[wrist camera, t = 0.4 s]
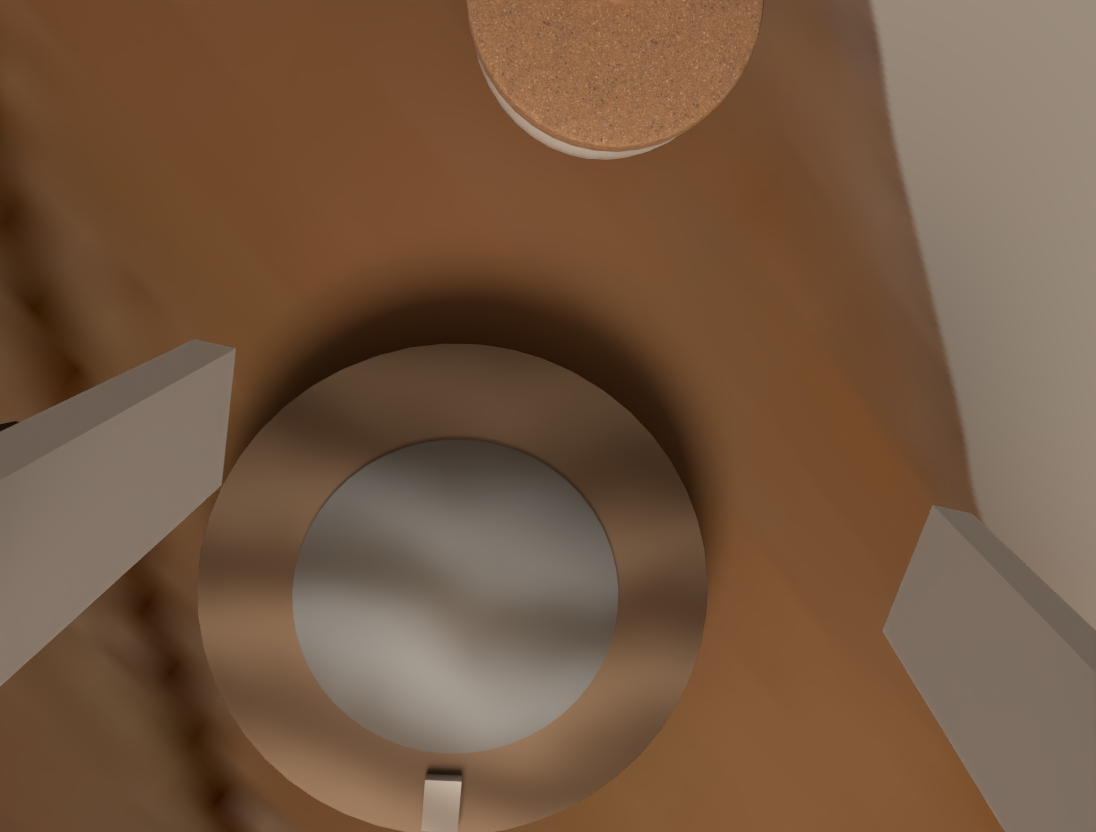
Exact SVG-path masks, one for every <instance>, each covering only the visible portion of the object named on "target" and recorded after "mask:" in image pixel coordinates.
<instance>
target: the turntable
mask: <svg viewBox="0 0 1096 832" xmlns="http://www.w3.org/2000/svg"><path fill="white" fill-rule="evenodd" d="M197 587H198V617H199V623H200V629H201V635H202V640H203V646H204V650H205V653H206V657H207V660H208V663H209V666H210V669H211V672H212V676H213V679H214V681H215V683H216V685H217V687H218V689H219V691H220V694H221V696H222V698H223V700H224V702H225V704H226V706H227V708H228V710H229V711H230V713H231V714H232V716H233V718H234V719H235V721H236V722H237V724H238V725H239V727H240V728H241V730H242V731H243V733H244V734H245V736H246V737H247V738H248V739H249V740H250V742H251V743H252V744H253V745H254V746H255V747H256V749H257V750H258V751H259V752H260V753H261V754H262V756H263V757H264V758H265V759H266V760H267V761H268V762H269V763H270V764H271V765H273V766H274V767H275V768H276V769H277V770H278V771H279V772H280V773H281V774H283V775H284V776H285V777H286V778H287V779H288V780H289V781H291V782H292V783H293V784H295V785H296V786H298V787H299V788H301V789H302V790H304V791H305V792H307V793H308V794H310V795H311V796H312V797H314V798H315V799H317V800H319V801H321V802H323V803H325V804H327V805H329V806H331V807H332V808H334V809H336V810H338V811H340V812H342V813H344V814H346V815H349V816H352V817H355V818H357V819H360V820H363V821H366V822H368V823H371V824H374V825H377V826H382V827H386V828H391V829H395V830H399V831H404V832H495V831H502V830H506V829H510V828H514V827H517V826H521V825H525V824H529V823H532V822H535V821H538V820H540V819H543V818H545V817H548V816H550V815H553V814H555V813H558V812H560V811H563V810H565V809H567V808H568V807H570V806H572V805H574V804H576V803H577V802H579V801H581V800H583V799H585V798H586V797H588V796H590V795H592V794H593V793H595V792H596V791H597V790H599V789H600V788H601V787H603V786H604V785H606V784H607V783H608V782H610V781H611V780H612V779H614V778H615V777H617V776H618V775H619V774H620V773H621V772H622V771H623V770H624V769H625V768H626V767H627V766H628V765H630V764H631V763H632V762H633V761H634V760H635V759H636V758H637V757H638V756H639V755H640V754H641V753H642V752H643V751H644V749H645V748H646V747H647V746H648V745H649V743H650V742H651V741H652V740H653V739H654V737H655V736H656V735H657V734H658V733H659V731H660V730H661V729H662V727H663V726H664V724H665V722H666V721H667V719H668V718H669V716H670V715H671V713H672V711H673V710H674V708H675V707H676V705H677V704H678V701H679V699H680V697H681V695H682V693H683V691H684V689H685V687H686V684H687V682H688V680H689V678H690V676H691V673H692V670H693V667H694V664H695V661H696V658H697V654H698V651H699V648H700V645H701V640H702V634H703V628H704V623H705V617H706V605H707V571H706V560H705V550H704V546H703V541H702V537H701V532H700V528H699V524H698V520H697V517H696V514H695V511H694V509H693V506H692V503H691V501H690V498H689V495H688V493H687V490H686V488H685V486H684V484H683V483H682V481H681V479H680V477H679V475H678V473H677V471H676V469H675V468H674V466H673V464H672V462H671V461H670V459H669V458H668V456H667V455H666V454H665V452H664V451H663V450H662V448H661V447H660V445H659V444H658V443H657V441H656V440H655V438H654V437H653V436H652V435H651V434H650V432H649V431H648V430H647V429H646V428H645V427H644V426H643V425H642V424H641V423H640V422H639V421H638V420H637V419H636V418H635V417H634V416H633V415H632V414H631V412H630V411H628V410H627V409H626V408H625V407H623V406H622V405H621V404H620V403H618V402H617V401H616V400H615V399H613V398H612V397H611V396H610V395H608V394H607V393H606V392H605V391H603V390H602V389H600V388H599V387H597V386H595V385H594V384H592V383H590V382H589V381H587V380H586V379H584V378H582V377H581V376H579V375H577V374H576V373H574V372H572V371H570V370H568V369H566V368H563V367H561V366H559V365H557V364H554V363H552V362H550V361H547V360H545V359H543V358H540V357H536V356H533V355H529V354H526V353H523V352H519V351H516V350H512V349H507V348H500V347H494V346H487V345H481V344H448V343H444V344H435V345H426V346H417V347H410V348H406V349H402V350H398V351H394V352H390V353H386V354H382V355H378V356H375V357H373V358H370V359H367V360H365V361H362V362H360V363H357V364H355V365H352V366H350V367H347V368H344V369H342V370H340V371H338V372H337V373H335V374H333V375H331V376H329V377H328V378H326V379H324V380H322V381H320V382H319V383H317V384H315V385H313V386H311V387H310V388H309V389H307V390H306V391H305V392H303V393H302V394H301V395H299V396H298V397H297V398H295V399H294V400H293V401H291V402H290V403H289V404H287V405H286V406H285V407H283V408H282V409H281V410H280V411H279V412H278V413H277V414H276V415H275V416H274V417H273V418H272V419H271V420H270V421H269V422H268V423H267V424H266V425H265V426H264V427H263V428H262V429H261V430H260V431H259V432H258V434H257V435H256V436H255V437H254V439H253V440H252V441H251V442H250V444H249V445H248V446H247V448H246V449H245V450H244V451H243V453H242V454H241V455H240V457H239V458H238V460H237V461H236V463H235V465H234V467H233V468H232V470H231V472H230V474H229V475H228V477H227V479H226V480H225V482H224V484H223V486H222V488H221V490H220V493H219V495H218V497H217V500H216V502H215V505H214V507H213V510H212V512H211V515H210V517H209V521H208V524H207V528H206V532H205V536H204V540H203V544H202V548H201V555H200V564H199V572H198V581H197Z"/></svg>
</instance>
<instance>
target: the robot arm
mask: <svg viewBox="0 0 1096 832" xmlns="http://www.w3.org/2000/svg"><path fill="white" fill-rule="evenodd" d="M235 351H236V349H235V348H231V347H227V346H222V345H218V344H213V343H209V342H204V341H200V340H195V339H194V340H192V341H190V342H188V343H185V344H183V345H181V346H179V347H177V348H175V349H173V350H171V351H169V352H167V353H164V354H162V355H160V356H158V357H156V358H154V359H152V360H150V361H148V362H146V363H143V364H141V365H139V366H137V367H135V368H133V369H131V370H129V371H127V372H125V373H122V374H120V375H118V376H116V377H114V378H112V379H110V380H108V381H106V382H104V383H101V384H99V385H97V386H95V387H93V388H91V389H89V390H87V391H85V392H83V393H80V394H78V395H76V396H74V397H72V398H70V399H68V400H66V401H64V402H62V403H59V404H57V405H55V406H53V407H51V408H49V409H47V410H45V411H43V412H41V413H38V414H36V415H34V416H32V417H30V418H28V419H26V420H24V421H22V422H17V421H14V422H9V423H4V424H0V686H1V685H2V684H3V683H4V682H6V681H7V680H8V679H9V678H10V677H11V676H12V675H13V674H14V673H15V672H17V671H18V670H19V669H20V668H21V667H22V666H23V665H24V664H25V663H26V662H28V661H29V660H30V659H31V658H32V657H33V656H34V655H35V654H36V653H37V652H39V651H40V650H41V649H42V648H43V647H44V646H45V645H46V644H47V643H49V642H50V641H51V640H52V639H53V638H54V637H55V636H56V635H57V634H58V633H60V632H61V631H62V630H63V629H64V628H65V627H66V626H67V625H68V624H69V623H71V622H72V621H73V620H74V619H75V618H76V617H77V616H78V615H79V614H80V613H82V612H83V611H84V610H85V609H86V608H87V607H88V606H89V605H90V604H91V603H93V602H94V601H95V600H96V599H97V598H98V597H99V596H100V595H101V594H102V593H104V592H105V591H106V590H107V589H108V588H109V587H110V586H111V585H112V584H113V583H115V582H116V581H117V580H118V579H119V578H120V577H121V576H122V575H123V574H124V573H126V572H127V571H128V570H129V569H130V568H131V567H132V566H133V565H134V564H135V563H137V562H138V561H139V560H140V559H141V558H142V557H143V556H144V555H145V554H146V553H148V552H149V551H150V550H151V549H152V548H153V547H154V546H155V545H156V544H157V543H159V542H160V541H161V540H162V539H163V538H164V537H165V536H166V535H167V534H168V533H170V532H171V531H172V530H173V529H174V528H175V527H176V526H177V525H178V524H179V523H181V522H182V521H183V520H184V519H185V518H186V517H187V516H188V515H189V514H190V513H192V512H193V511H194V510H195V509H196V508H197V507H198V506H199V505H200V504H201V503H203V502H204V501H205V500H206V499H207V498H208V497H209V496H210V495H211V494H212V493H214V492H215V491H216V490H217V489H218V488H219V487H220V486H221V485H222V476H223V467H224V457H225V447H226V438H227V428H228V419H229V409H230V399H231V390H232V380H233V371H234V361H235ZM882 632H883V633H884V635H885V637H886V638H887V640H888V641H889V643H890V645H891V646H892V648H893V650H894V651H895V653H896V655H897V656H898V658H899V659H900V661H901V663H902V664H903V666H904V668H905V669H906V671H907V673H908V674H909V676H910V677H911V679H912V681H913V682H914V684H915V686H916V687H917V689H918V691H919V692H920V694H921V695H922V697H923V699H924V700H925V702H926V704H927V705H928V707H929V709H930V710H931V712H932V713H933V715H934V717H935V718H936V720H937V722H938V723H939V725H940V727H941V728H942V730H943V731H944V733H945V735H946V736H947V738H948V740H949V741H950V743H951V745H952V746H953V748H954V749H955V751H956V753H957V754H958V756H959V758H960V759H961V761H962V763H963V764H964V766H965V767H966V769H967V771H968V772H969V774H970V776H971V777H972V779H973V781H974V782H975V784H976V785H977V787H978V789H979V790H980V792H981V794H982V795H983V797H984V799H985V800H986V802H987V804H988V805H989V807H990V808H991V810H992V812H993V813H994V815H995V817H996V818H997V820H998V822H999V823H1000V825H1001V826H1002V828H1003V830H1004V831H1005V832H1096V630H1095V629H1093V628H1092V627H1091V626H1090V625H1089V624H1088V623H1087V622H1086V621H1085V620H1084V619H1083V618H1082V617H1081V616H1080V615H1079V614H1078V613H1077V612H1076V611H1075V610H1073V609H1072V608H1071V607H1070V606H1069V605H1068V604H1067V603H1066V602H1065V601H1064V600H1063V599H1062V598H1061V597H1060V596H1059V595H1058V594H1056V592H1054V591H1053V590H1052V589H1051V588H1050V587H1049V586H1048V585H1047V584H1046V583H1045V582H1044V581H1043V580H1042V579H1041V578H1040V577H1039V576H1037V575H1036V574H1035V573H1034V572H1033V571H1032V570H1031V569H1030V568H1029V567H1028V566H1027V565H1026V564H1025V563H1024V562H1023V561H1022V560H1020V558H1018V557H1017V556H1016V555H1015V554H1014V553H1013V552H1012V551H1011V550H1010V549H1009V548H1008V547H1007V546H1006V545H1005V544H1004V543H1003V542H1002V541H1000V540H999V539H998V538H997V537H996V536H995V535H994V534H993V533H992V532H991V531H990V530H989V529H988V528H987V527H986V526H985V525H984V524H983V523H982V522H980V521H979V520H978V519H977V518H976V517H975V516H974V515H973V514H970V513H966V512H961V511H957V510H952V509H948V508H944V507H939V506H935V505H932V508H931V510H930V513H929V515H928V518H927V520H926V523H925V525H924V528H923V530H922V533H921V535H920V538H919V540H918V543H917V545H916V548H915V550H914V553H913V555H912V558H911V560H910V563H909V565H908V568H907V570H906V573H905V575H904V578H903V580H902V583H901V585H900V588H899V590H898V593H897V595H896V598H895V600H894V603H893V605H892V608H891V610H890V613H889V615H888V618H887V620H886V623H885V625H884V628H883V630H882Z"/></svg>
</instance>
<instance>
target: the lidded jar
mask: <svg viewBox="0 0 1096 832" xmlns="http://www.w3.org/2000/svg"><path fill="white" fill-rule="evenodd" d="M763 6H764V0H466V8H467V16H468V24H469V29H470V32H471V36H472V39H473V43H474V46H475V50H476V53H477V56H478V60H479V64H480V67H481V69H482V71H483V73H484V76H485V78H486V80H487V82H488V85H489V87H490V89H491V90H492V92H493V94H494V95H495V97H496V98H497V100H498V101H499V103H500V104H501V106H502V108H503V109H504V110H505V111H506V112H507V114H508V115H509V116H510V117H511V118H512V119H513V120H514V121H515V123H516V124H517V125H519V126H520V127H521V128H522V129H523V130H525V131H526V132H527V133H528V134H529V135H531V136H532V137H533V138H535V139H537V140H538V141H540V142H542V143H544V144H545V145H547V146H549V147H551V148H553V149H556V150H558V151H561V152H563V153H566V154H569V155H573V156H578V157H582V158H587V159H605V160H608V159H617V158H626V157H629V156H633V155H637V154H640V153H644V152H647V151H650V150H652V149H654V148H657V147H659V146H661V145H663V144H665V143H667V142H669V141H671V140H672V139H674V138H675V137H677V136H678V135H681V134H683V133H684V132H686V131H687V130H689V129H690V128H692V127H693V126H695V125H696V124H698V123H699V122H701V121H702V120H703V119H704V118H705V117H706V116H708V115H709V114H710V113H711V112H712V111H713V110H714V109H715V108H716V107H717V106H718V105H719V104H720V103H721V102H722V101H723V100H724V99H725V98H726V96H727V95H728V94H729V92H730V91H731V90H732V89H733V87H734V86H735V85H736V83H737V82H738V81H739V79H740V77H741V75H742V73H743V72H744V70H745V68H746V66H747V64H748V63H749V61H750V58H751V55H752V53H753V50H754V47H755V45H756V42H757V39H758V35H759V31H760V26H761V21H762V17H763Z"/></svg>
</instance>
